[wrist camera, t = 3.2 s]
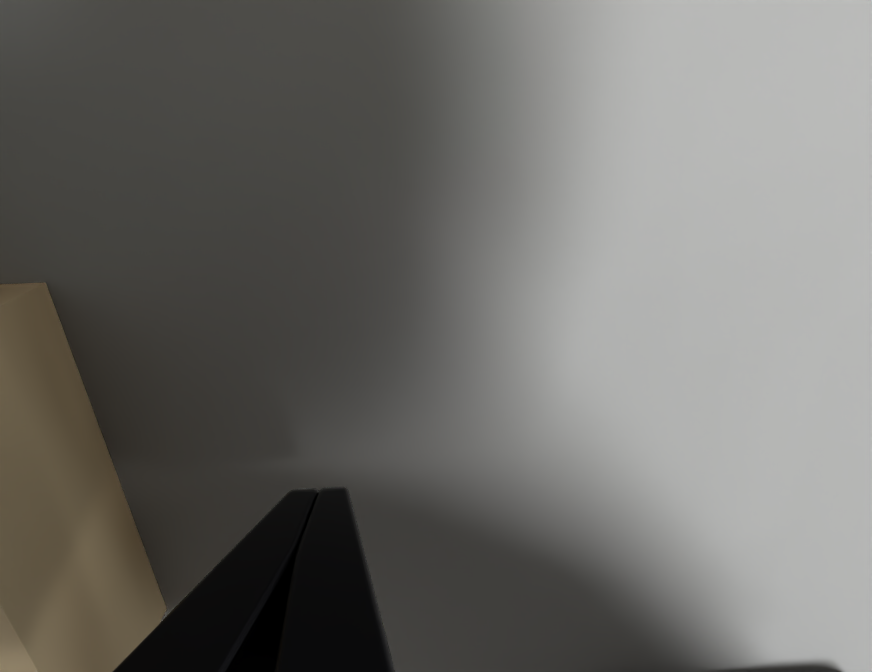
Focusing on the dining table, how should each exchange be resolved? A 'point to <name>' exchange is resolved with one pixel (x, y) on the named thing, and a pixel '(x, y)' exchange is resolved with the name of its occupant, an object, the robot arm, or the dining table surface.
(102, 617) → the tan beveled block
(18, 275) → the dining table surface
